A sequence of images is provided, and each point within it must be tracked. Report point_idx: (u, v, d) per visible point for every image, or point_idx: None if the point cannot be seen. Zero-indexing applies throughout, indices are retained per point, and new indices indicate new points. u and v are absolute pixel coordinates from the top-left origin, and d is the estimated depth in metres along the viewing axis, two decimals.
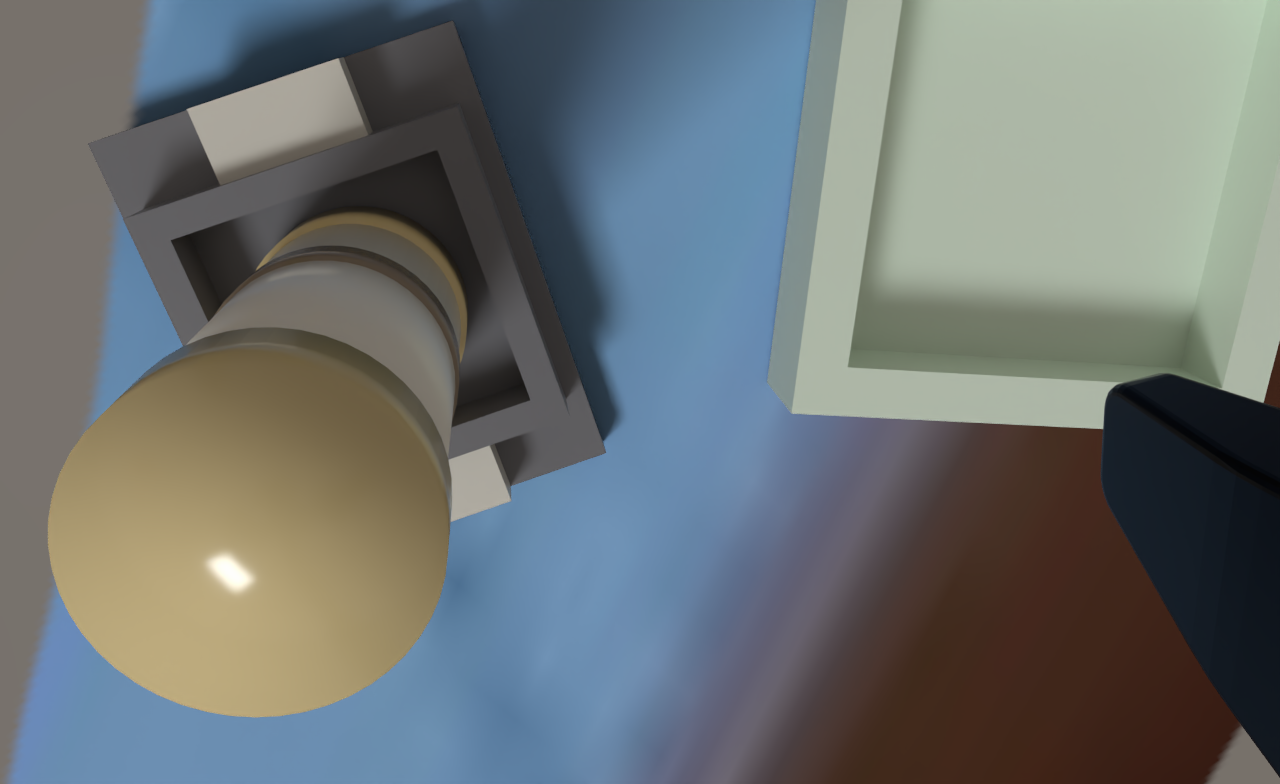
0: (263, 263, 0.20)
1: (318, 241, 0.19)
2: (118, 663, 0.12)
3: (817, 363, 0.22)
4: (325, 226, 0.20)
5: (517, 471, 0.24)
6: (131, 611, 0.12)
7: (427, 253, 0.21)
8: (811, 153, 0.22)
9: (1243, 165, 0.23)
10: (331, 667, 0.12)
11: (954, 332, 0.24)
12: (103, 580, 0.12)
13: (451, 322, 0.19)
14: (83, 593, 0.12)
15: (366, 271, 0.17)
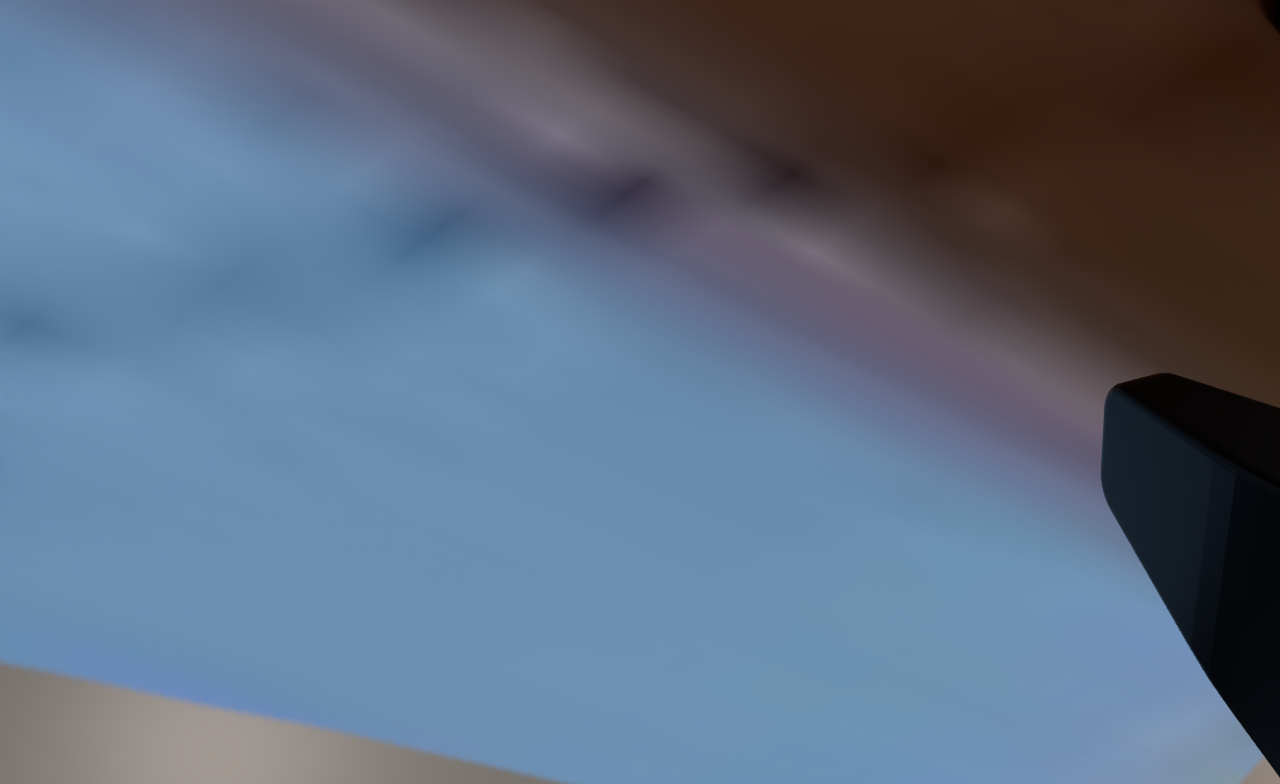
0: None
1: None
2: None
3: None
4: None
5: None
6: None
7: None
8: None
9: None
10: None
11: None
12: None
13: None
14: None
15: None
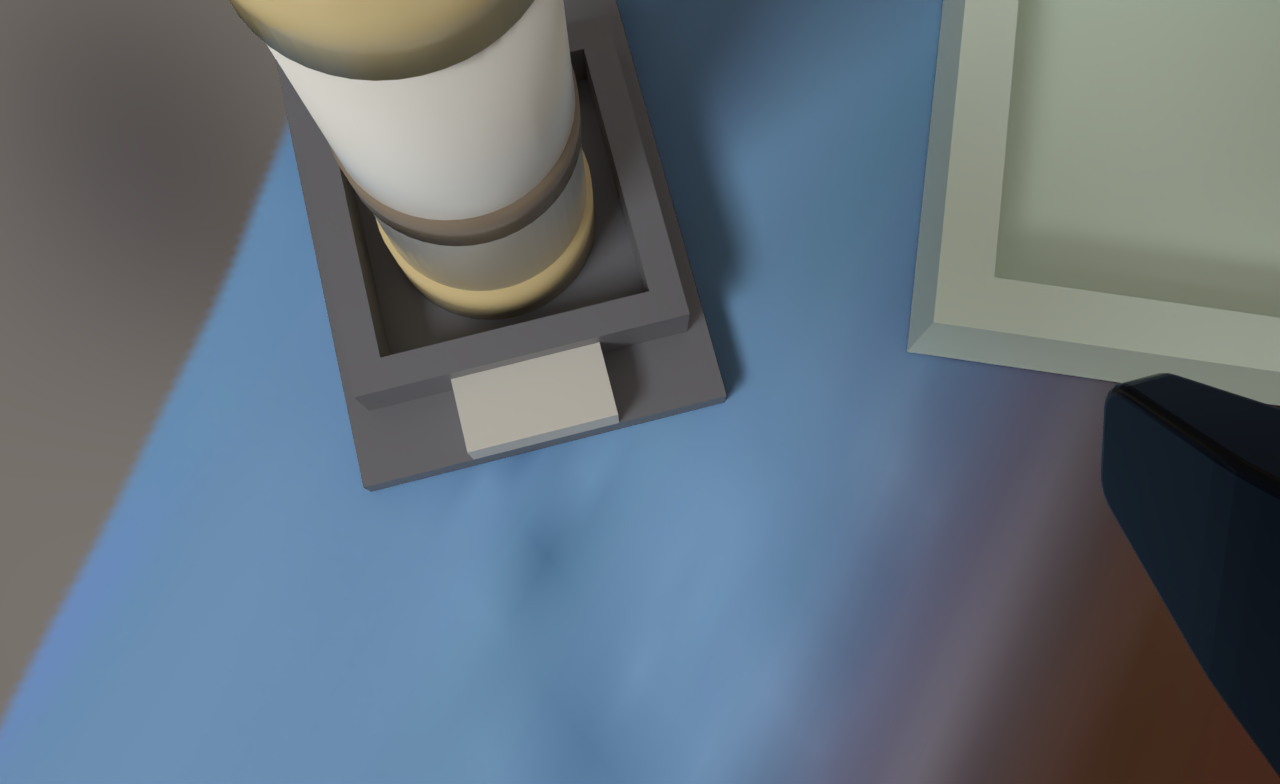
0: None
1: None
2: None
3: (959, 269, 0.21)
4: None
5: (628, 406, 0.22)
6: None
7: None
8: (944, 96, 0.22)
9: None
10: None
11: None
12: None
13: None
14: None
15: None
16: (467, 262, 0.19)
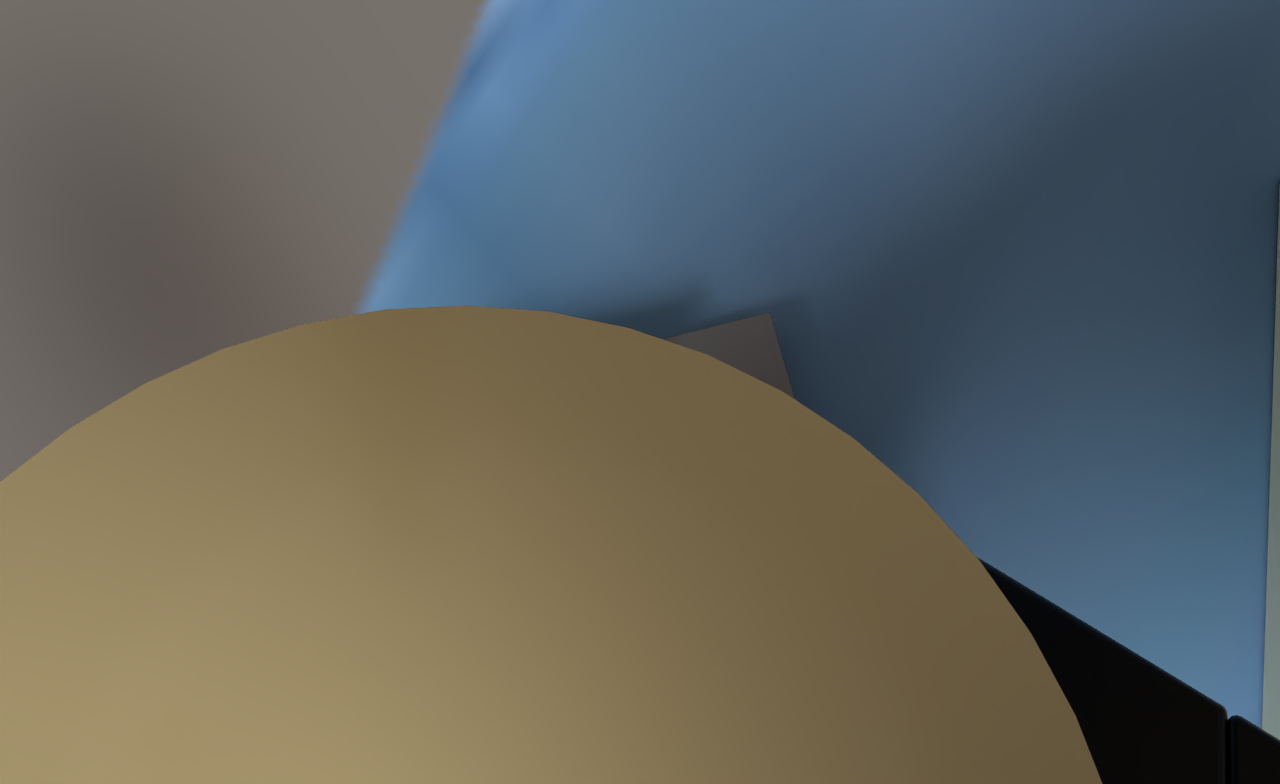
0: None
1: None
2: None
3: None
4: None
5: None
6: None
7: None
8: None
9: None
10: None
11: None
12: None
13: None
14: None
15: None
16: None
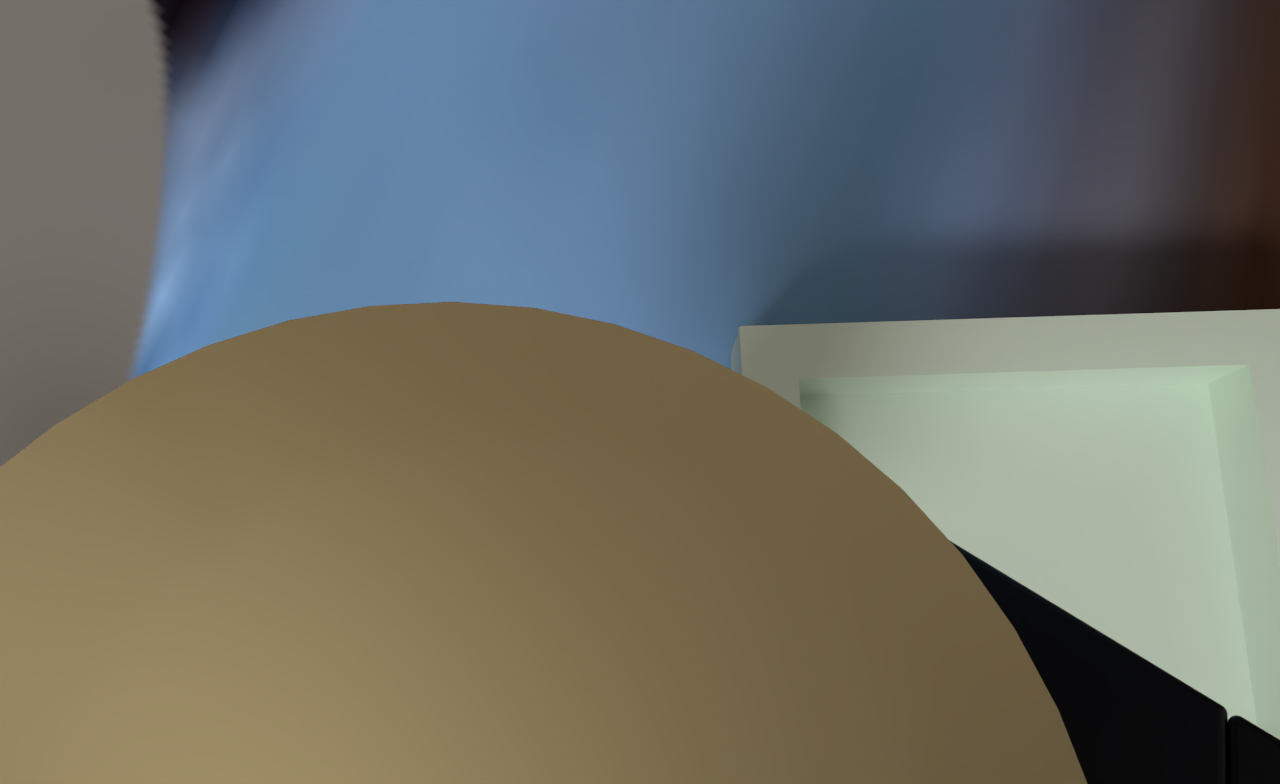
0: None
1: None
2: None
3: None
4: None
5: None
6: None
7: None
8: None
9: (1248, 571, 0.20)
10: None
11: None
12: None
13: None
14: None
15: None
16: None
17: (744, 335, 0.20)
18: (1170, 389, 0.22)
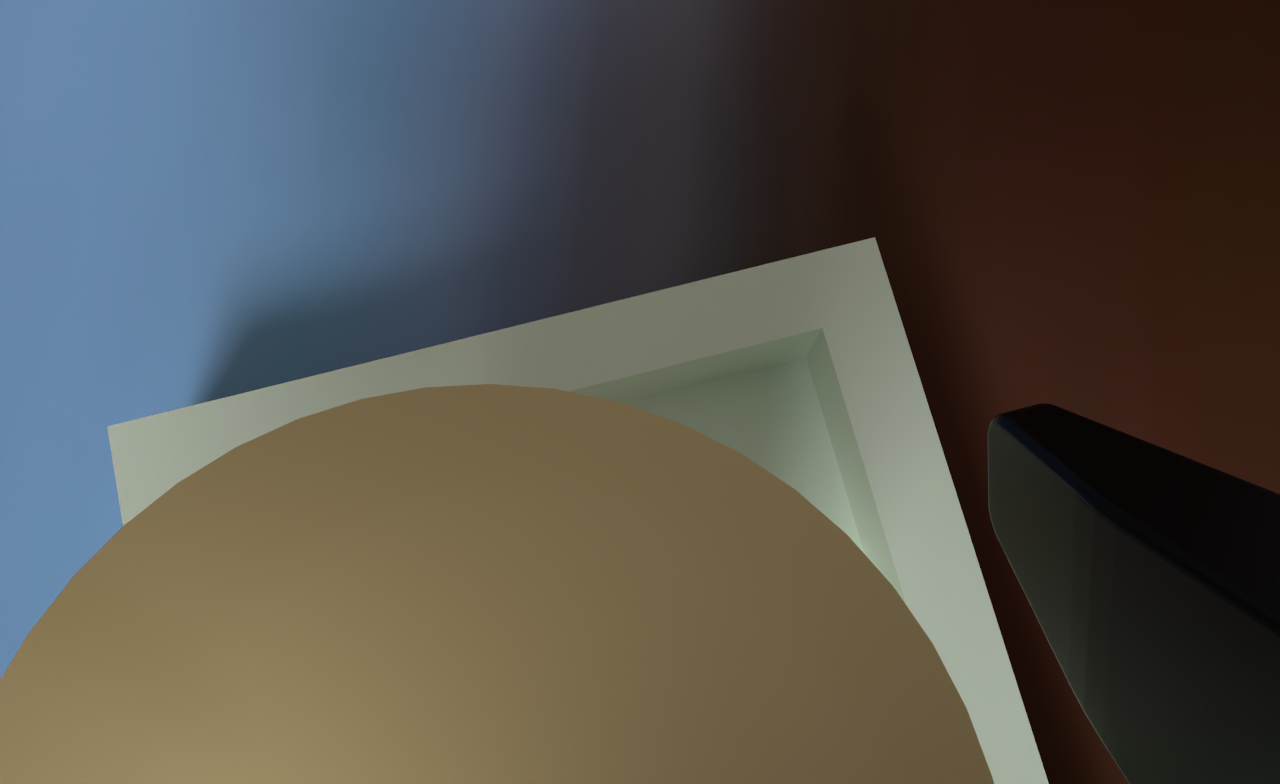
0: None
1: None
2: None
3: None
4: None
5: None
6: None
7: None
8: None
9: None
10: None
11: None
12: None
13: None
14: None
15: None
16: None
17: (115, 438, 0.14)
18: (755, 376, 0.16)
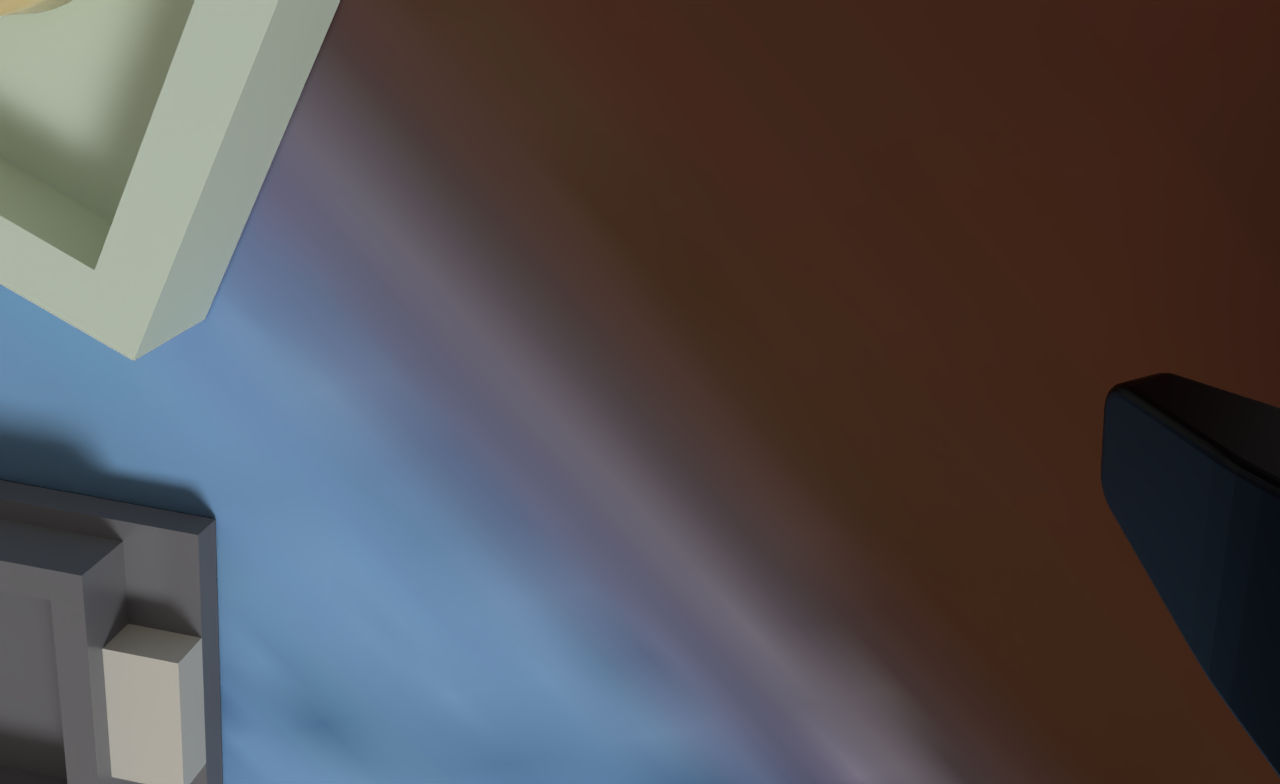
0: None
1: None
2: None
3: (77, 303, 0.17)
4: None
5: (187, 623, 0.20)
6: None
7: None
8: None
9: None
10: None
11: None
12: None
13: None
14: None
15: None
16: None
17: None
18: None
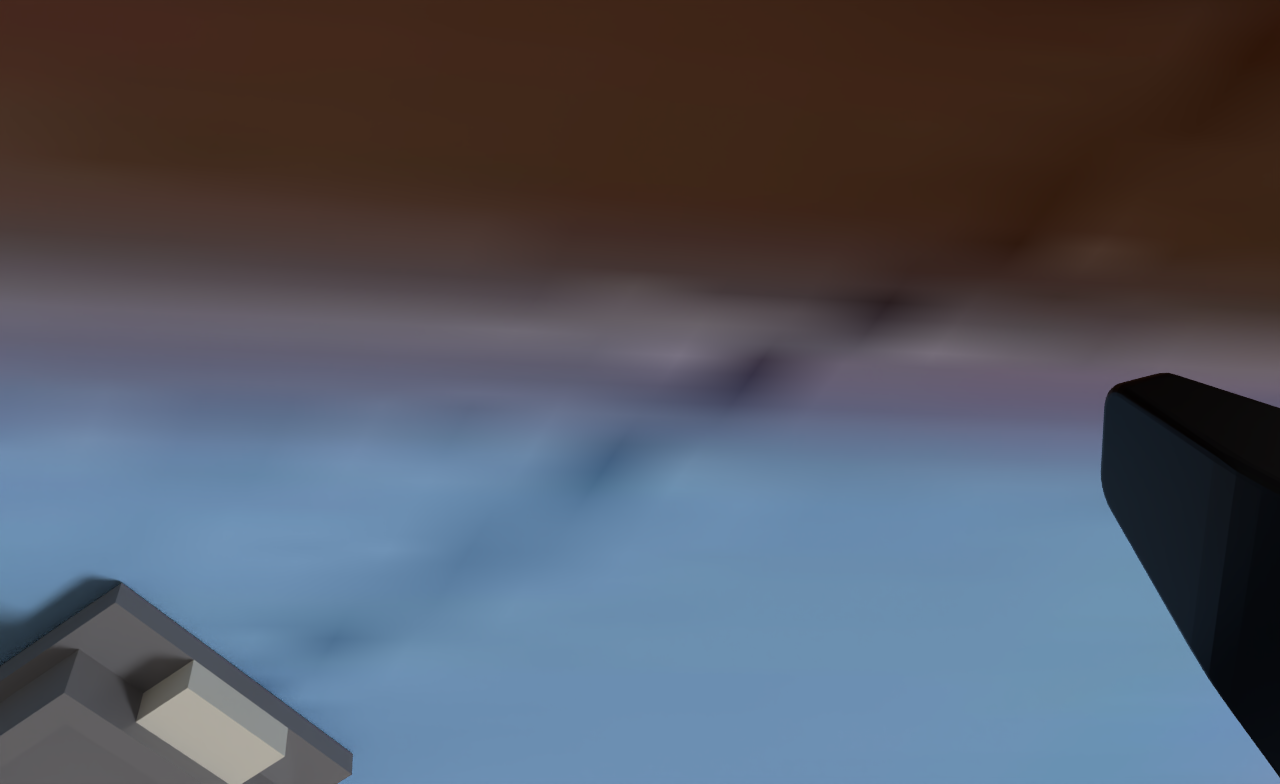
0: None
1: None
2: None
3: None
4: None
5: (175, 659, 0.24)
6: None
7: None
8: None
9: None
10: None
11: None
12: None
13: None
14: None
15: None
16: None
17: None
18: None
